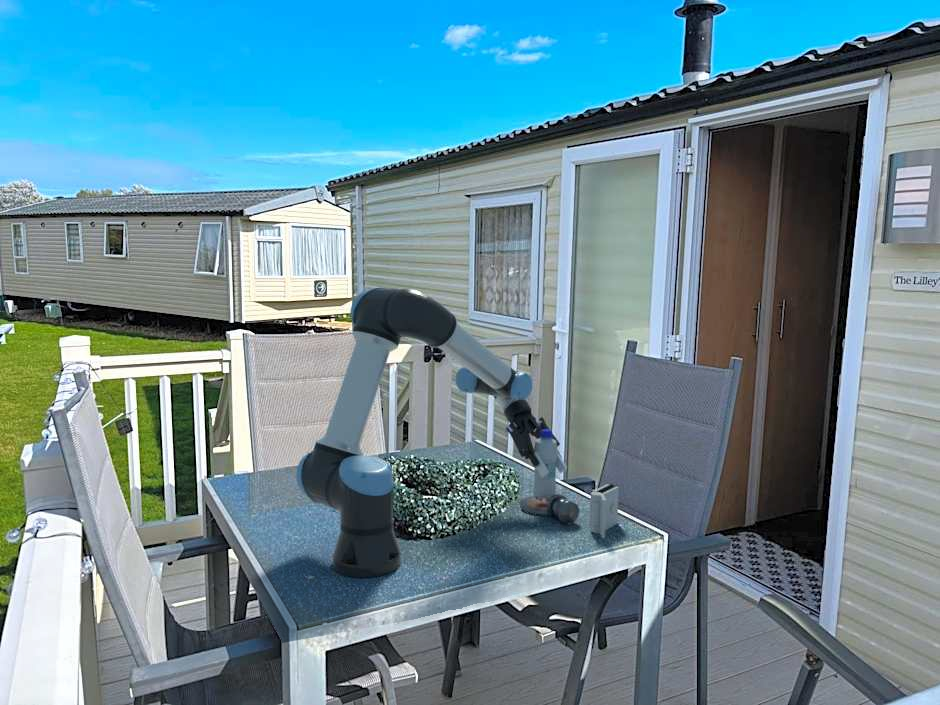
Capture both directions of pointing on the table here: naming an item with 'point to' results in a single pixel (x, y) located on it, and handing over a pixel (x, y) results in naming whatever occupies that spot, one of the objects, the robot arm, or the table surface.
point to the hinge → (603, 508)
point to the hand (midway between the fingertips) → (554, 472)
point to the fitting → (552, 507)
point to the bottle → (548, 455)
